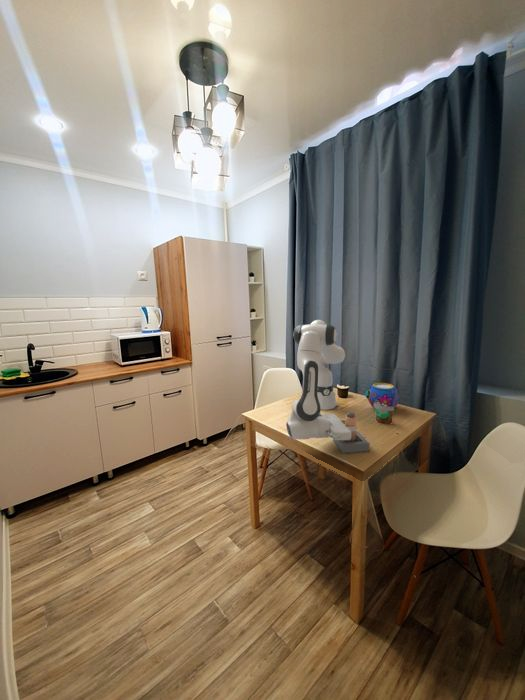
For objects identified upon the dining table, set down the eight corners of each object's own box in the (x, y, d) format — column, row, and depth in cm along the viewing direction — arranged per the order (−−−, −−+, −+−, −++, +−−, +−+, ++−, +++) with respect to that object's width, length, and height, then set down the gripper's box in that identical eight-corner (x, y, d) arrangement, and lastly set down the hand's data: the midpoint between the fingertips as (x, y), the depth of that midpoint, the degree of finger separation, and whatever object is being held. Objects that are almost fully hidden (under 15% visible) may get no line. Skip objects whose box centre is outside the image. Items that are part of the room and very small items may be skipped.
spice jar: (342, 436, 127) (343, 411, 126) (353, 435, 128) (353, 411, 126) (347, 442, 123) (347, 416, 121) (357, 441, 123) (358, 415, 121)
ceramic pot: (372, 401, 179) (372, 379, 177) (401, 407, 168) (403, 384, 166) (362, 410, 166) (363, 386, 163) (394, 417, 155) (395, 391, 152)
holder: (333, 440, 131) (333, 432, 131) (356, 438, 133) (357, 430, 132) (342, 453, 120) (343, 445, 119) (369, 451, 121) (369, 443, 120)
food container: (368, 418, 155) (368, 401, 153) (377, 416, 157) (377, 399, 155) (384, 426, 144) (385, 408, 142) (393, 424, 146) (394, 406, 144)
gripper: (331, 431, 112) (363, 428, 114) (316, 412, 132) (343, 410, 134) (330, 445, 113) (362, 442, 115) (316, 424, 133) (343, 422, 135)
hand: (352, 425), depth 124 cm, fingers closed on spice jar, 5 cm apart
